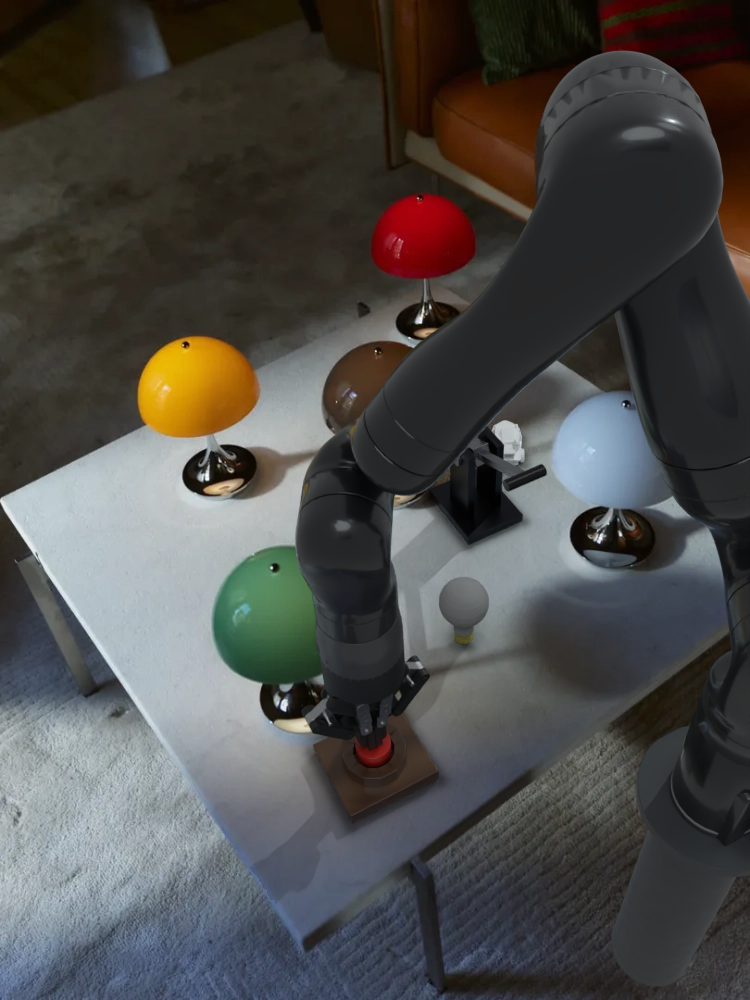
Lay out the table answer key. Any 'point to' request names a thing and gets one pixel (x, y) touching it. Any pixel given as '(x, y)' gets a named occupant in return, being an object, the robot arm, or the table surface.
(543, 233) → the robot arm
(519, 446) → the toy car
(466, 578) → the light bulb
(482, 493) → the bracket
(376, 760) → the button
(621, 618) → the table surface
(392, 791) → the button block
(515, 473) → the lever
